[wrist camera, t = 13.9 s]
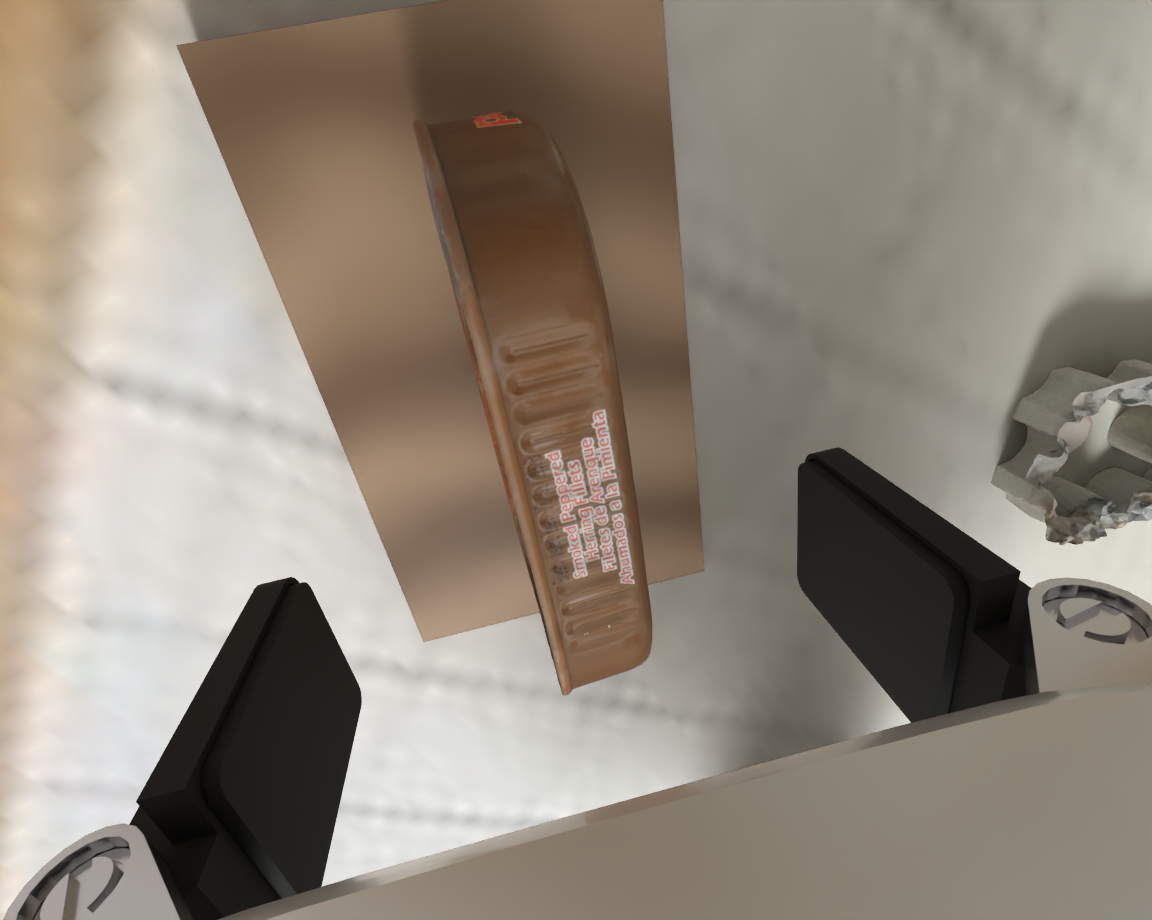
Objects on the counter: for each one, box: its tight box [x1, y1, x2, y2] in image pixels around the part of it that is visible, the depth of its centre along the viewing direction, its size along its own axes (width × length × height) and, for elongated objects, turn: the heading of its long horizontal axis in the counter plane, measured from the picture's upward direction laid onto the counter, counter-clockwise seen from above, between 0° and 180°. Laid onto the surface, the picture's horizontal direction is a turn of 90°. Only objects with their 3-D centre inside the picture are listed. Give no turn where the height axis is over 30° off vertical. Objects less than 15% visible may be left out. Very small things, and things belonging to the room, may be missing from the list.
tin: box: [412, 111, 652, 695], centre depth 15 cm, size 15×3×8 cm, turn 9°
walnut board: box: [176, 0, 704, 642], centre depth 19 cm, size 20×12×2 cm, turn 9°
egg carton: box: [991, 359, 1152, 545], centre depth 25 cm, size 11×8×4 cm
